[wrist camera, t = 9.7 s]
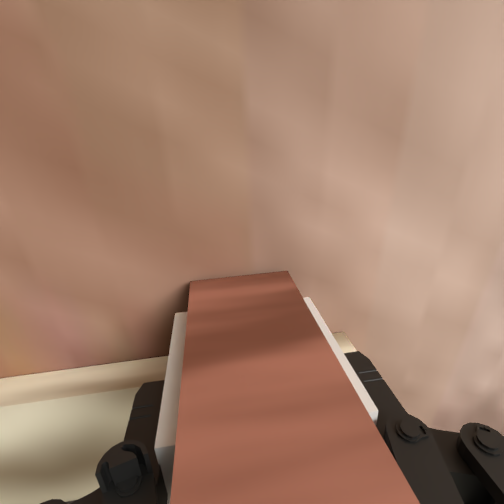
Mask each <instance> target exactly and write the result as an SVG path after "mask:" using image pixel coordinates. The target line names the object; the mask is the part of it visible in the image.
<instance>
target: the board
mask: <svg viewBox="0 0 504 504" xmlns="http://www.w3.org/2000/svg"><path fill="white" fill-rule="evenodd" d="M332 335H333V337H334V338H335V340H336V342H337V343H338V345H339V347H340V348H341V350H342V351H343V353H349V352H356V349H355V348H354V346H353V345H352V343H351V342H350V341H349V339H348V338H347V336H346V335H345V333H344V332H340V333H332ZM168 357H169V356H163V357H155V358H148V359H141V360H133V361H126V362H119V363H111V364H104V365H96V366H89V367H82V368H74V369H67V370H60V371H52V372H45V373H38V374H30V375H23V376H15V377H8V378H1V379H0V504H40V503H42V502H45V501H48V500H51V499H61V500H63V501H64V502H66V503H67V504H70V503H72V502H74V501H76V500H78V499H80V498H82V497H84V496H86V495H88V494H90V493H92V492H93V491H95V490H96V489H98V488H99V487H100V486H99V484H98V481H97V478H96V476H95V472H96V468H97V464H98V463H99V461H100V460H101V458H102V456H103V455H104V454H105V453H106V452H107V451H108V450H109V449H110V448H111V447H113V446H114V445H116V444H118V443H120V442H122V441H124V437H125V433H126V429H127V425H128V421H129V417H130V413H131V410H132V406H133V402H134V398H135V394H136V393H137V392H138V390H139V389H140V387H141V386H142V385H143V383H146V382H153V381H160V380H165V376H166V370H167V363H168Z"/></svg>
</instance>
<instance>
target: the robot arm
mask: <svg viewBox="0 0 504 504" xmlns="http://www.w3.org/2000/svg"><path fill="white" fill-rule="evenodd" d="M303 299H304V301H305V303H306V304H307V306H308V308H309V310H310V311H311V313H312V315H313V317H314V318H315V320H316V322H317V324H318V325H319V327H320V329H321V331H322V332H323V334H324V336H325V338H326V339H327V341H328V343H329V345H330V346H331V348H332V350H333V352H334V353H335V355H336V357H337V359H338V361H339V362H340V364H341V366H342V368H343V369H344V371H345V373H346V375H347V376H348V378H349V380H350V382H351V383H352V385H353V387H354V389H355V390H356V392H357V394H358V396H359V397H360V399H361V401H362V403H363V404H364V406H365V408H366V410H367V411H368V413H369V415H370V417H371V418H372V420H373V422H374V424H375V425H376V427H377V429H378V431H379V433H380V434H381V436H382V438H383V440H384V441H385V443H386V445H387V447H388V448H389V450H390V452H391V454H392V455H393V457H394V459H395V461H396V462H397V464H398V466H399V468H400V469H401V471H402V473H403V475H404V476H405V478H406V480H407V482H408V483H409V485H410V487H411V489H412V490H413V492H414V494H415V496H416V497H417V499H418V501H419V503H420V504H504V436H502V435H501V434H500V433H499V432H498V431H496V430H494V429H492V428H490V427H489V426H486V425H483V424H479V423H468V424H465V425H463V427H462V428H461V430H460V433H456V432H449V431H442V430H436V429H432V428H429V427H427V426H426V425H425V424H424V423H423V422H422V421H421V420H419V419H417V418H415V417H413V416H411V415H409V414H408V413H407V412H406V411H405V409H404V408H403V407H402V405H401V404H400V402H399V401H398V399H397V398H396V397H395V395H394V394H393V392H392V391H391V390H390V388H389V387H388V385H387V384H386V382H385V381H384V380H383V379H382V377H381V375H380V374H379V372H378V371H376V368H375V367H374V365H373V364H372V362H371V361H370V360H369V359H368V358H367V357H366V356H364V355H363V354H361V353H360V352H359V351H356V352H349V353H343V351H342V350H341V348H340V347H339V345H338V343H337V342H336V340H335V338H334V337H333V335H332V333H331V332H330V330H329V328H328V327H327V325H326V324H325V322H324V320H323V319H322V317H321V315H320V314H319V312H318V310H317V309H316V307H315V305H314V304H313V302H312V301H311V299H310V297H305V298H303ZM186 323H187V312H180V313H175V318H174V325H173V331H172V337H171V344H170V350H169V357H168V363H167V370H166V376H165V380H160V381H153V382H146V383H143V385H142V386H141V387H140V389H139V390H138V392H137V393H136V394H135V398H134V402H133V406H132V410H131V413H130V417H129V421H128V425H127V429H126V433H125V437H124V441H122V442H120V443H118V444H116V445H114V446H113V447H111V448H110V449H109V450H108V451H107V452H106V453H105V454H104V455H103V456H102V458H101V460H100V461H99V463H98V464H97V468H96V472H95V476H96V478H97V481H98V484H99V486H100V487H99V488H98V489H96V490H95V491H93V492H92V493H90V494H88V495H86V496H84V497H82V498H80V499H78V500H76V501H74V502H72V503H70V504H167V499H168V503H169V504H170V497H171V486H172V476H173V465H174V454H175V443H176V432H177V421H178V410H179V399H180V388H181V378H182V367H183V356H184V345H185V334H186ZM40 504H67V503H66V502H64V501H63V500H61V499H51V500H48V501H45V502H42V503H40Z"/></svg>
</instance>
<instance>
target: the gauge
mask: <svg viewBox="0 0 504 504" xmlns="http://www.w3.org/2000/svg"><path fill="white" fill-rule="evenodd" d="M170 504H420V503H419V501H418V499H417V497H416V496H415V494H414V492H413V490H412V489H411V487H410V485H409V483H408V482H407V480H406V478H405V476H404V475H403V473H402V471H401V469H400V468H399V466H398V464H397V462H396V461H395V459H394V457H393V455H392V454H391V452H390V450H389V448H388V447H387V445H386V443H385V441H384V440H383V438H382V436H381V434H380V433H379V431H378V429H377V427H376V425H375V424H374V422H373V420H372V418H371V417H370V415H369V413H368V411H367V410H366V408H365V406H364V404H363V403H362V401H361V399H360V397H359V396H358V394H357V392H356V390H355V389H354V387H353V385H352V383H351V382H350V380H349V378H348V376H347V375H346V373H345V371H344V369H343V368H342V366H341V364H340V362H339V361H338V359H337V357H336V355H335V353H334V352H333V350H332V348H331V346H330V345H329V343H328V341H327V339H326V338H325V336H324V334H323V332H322V331H321V329H320V327H319V325H318V324H317V322H316V320H315V318H314V317H313V315H312V313H311V311H310V310H309V308H308V306H307V304H306V303H305V301H304V299H303V297H302V296H301V294H300V292H299V290H298V289H297V287H296V285H295V283H294V281H293V280H292V278H291V276H290V274H289V273H288V271H281V272H272V273H263V274H254V275H245V276H236V277H226V278H217V279H208V280H199V281H190V290H189V301H188V312H187V323H186V334H185V345H184V356H183V367H182V378H181V388H180V399H179V410H178V421H177V432H176V443H175V454H174V465H173V476H172V486H171V497H170Z"/></svg>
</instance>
